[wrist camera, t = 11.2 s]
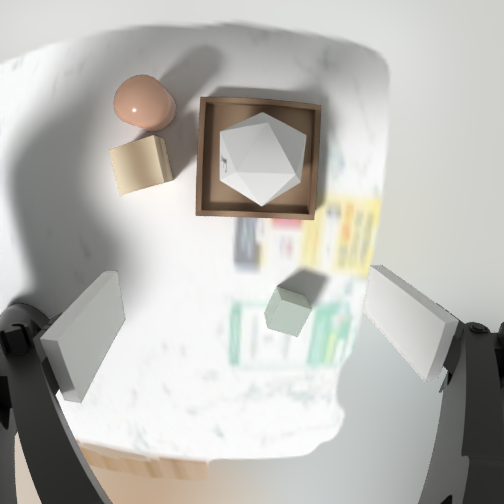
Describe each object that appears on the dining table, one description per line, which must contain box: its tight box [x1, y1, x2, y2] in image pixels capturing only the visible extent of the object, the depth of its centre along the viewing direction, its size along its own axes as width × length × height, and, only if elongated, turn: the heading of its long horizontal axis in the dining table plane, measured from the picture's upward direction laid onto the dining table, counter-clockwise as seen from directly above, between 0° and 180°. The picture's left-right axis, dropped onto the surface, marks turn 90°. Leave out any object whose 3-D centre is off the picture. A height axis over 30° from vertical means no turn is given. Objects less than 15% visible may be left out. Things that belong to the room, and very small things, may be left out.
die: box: [220, 112, 306, 206], centre depth 28 cm, size 8×9×10 cm
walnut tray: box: [196, 97, 321, 220], centre depth 32 cm, size 13×13×2 cm
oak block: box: [109, 135, 173, 196], centre depth 30 cm, size 5×5×5 cm
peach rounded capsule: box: [114, 75, 176, 131], centre depth 27 cm, size 5×5×7 cm
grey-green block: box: [264, 286, 312, 337], centre depth 36 cm, size 4×4×4 cm
